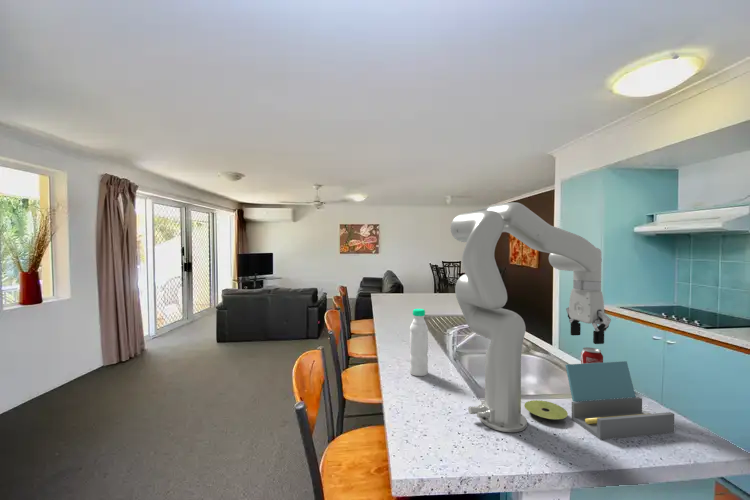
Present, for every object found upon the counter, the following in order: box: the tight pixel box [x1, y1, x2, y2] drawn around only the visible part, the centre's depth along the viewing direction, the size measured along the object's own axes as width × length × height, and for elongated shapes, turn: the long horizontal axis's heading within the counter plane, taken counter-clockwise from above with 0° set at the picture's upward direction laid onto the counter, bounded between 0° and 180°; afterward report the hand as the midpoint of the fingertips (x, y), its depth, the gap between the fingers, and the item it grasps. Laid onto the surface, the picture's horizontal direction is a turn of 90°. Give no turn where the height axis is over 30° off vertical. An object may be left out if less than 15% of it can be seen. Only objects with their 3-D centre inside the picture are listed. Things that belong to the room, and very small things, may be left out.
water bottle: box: [409, 308, 429, 377], centre depth 127 cm, size 7×7×25 cm
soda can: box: [580, 346, 604, 364], centre depth 119 cm, size 7×7×12 cm
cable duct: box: [571, 396, 675, 441], centre depth 90 cm, size 22×10×5 cm, turn 98°
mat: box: [523, 399, 569, 420], centre depth 96 cm, size 11×11×2 cm
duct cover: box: [565, 361, 637, 402], centre depth 97 cm, size 20×10×1 cm
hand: (586, 339), depth 105 cm, fingers open, 9 cm apart
